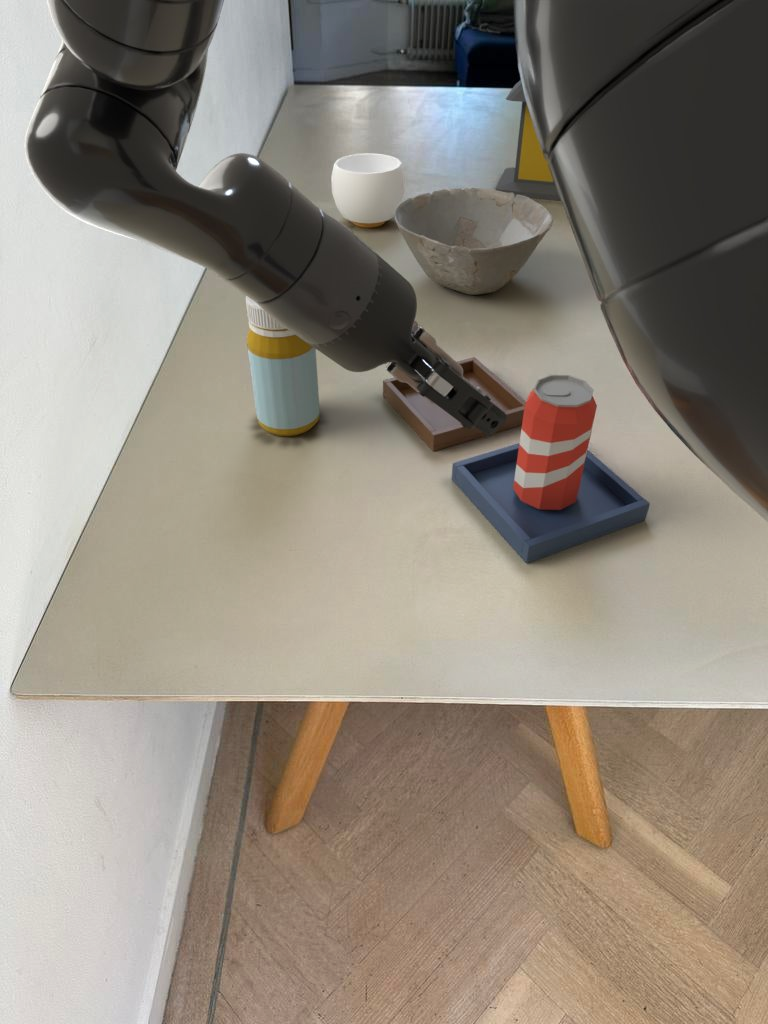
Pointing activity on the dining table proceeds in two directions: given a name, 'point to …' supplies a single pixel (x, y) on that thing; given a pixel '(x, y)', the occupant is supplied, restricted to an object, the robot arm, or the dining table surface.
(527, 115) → the lantern
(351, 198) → the cup
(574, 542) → the tray
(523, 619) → the dining table surface
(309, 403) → the bottle
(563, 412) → the beverage can
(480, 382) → the tray
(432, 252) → the ceramic bowl
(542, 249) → the dining table surface
